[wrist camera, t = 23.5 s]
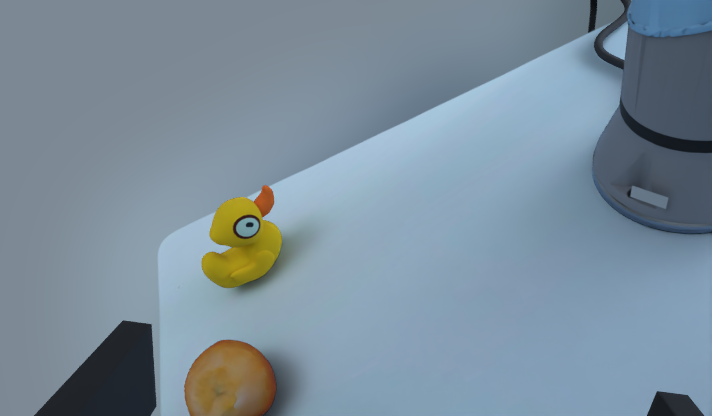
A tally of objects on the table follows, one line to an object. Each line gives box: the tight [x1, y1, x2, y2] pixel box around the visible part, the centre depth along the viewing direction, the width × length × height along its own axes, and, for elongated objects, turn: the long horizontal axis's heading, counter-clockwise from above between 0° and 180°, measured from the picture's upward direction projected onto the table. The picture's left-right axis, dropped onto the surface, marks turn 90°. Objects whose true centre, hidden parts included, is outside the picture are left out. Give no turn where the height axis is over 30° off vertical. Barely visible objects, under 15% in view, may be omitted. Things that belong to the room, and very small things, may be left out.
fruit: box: [184, 340, 276, 416], centre depth 45 cm, size 8×8×8 cm
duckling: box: [202, 186, 282, 288], centre depth 53 cm, size 11×5×10 cm, turn 130°
